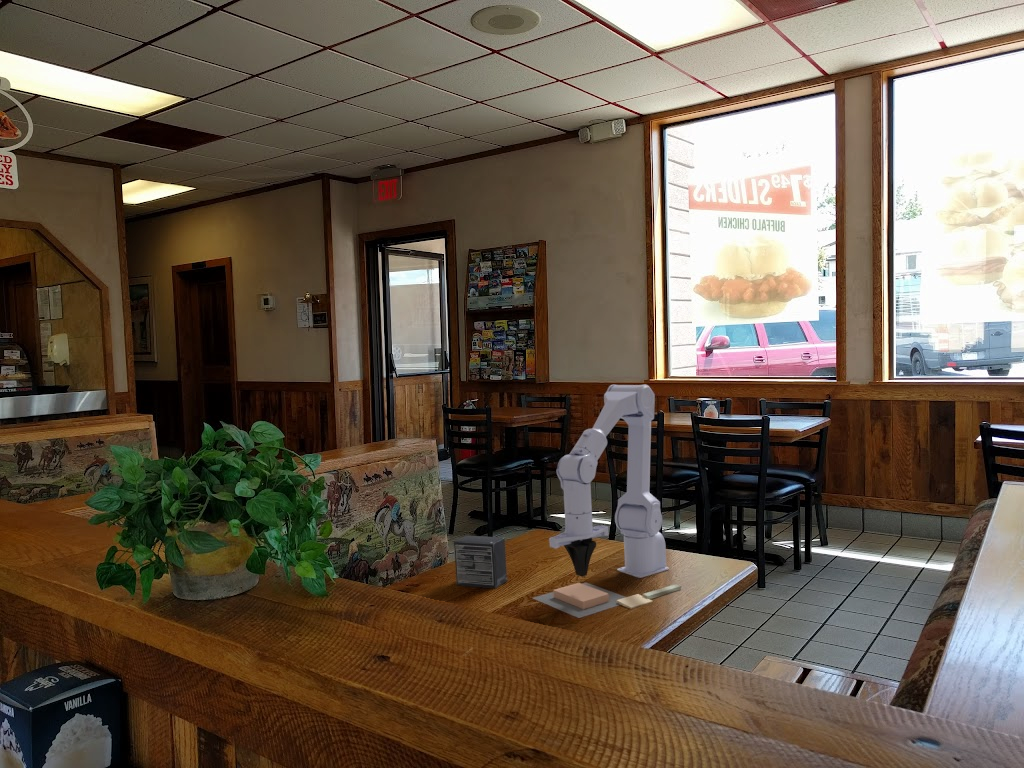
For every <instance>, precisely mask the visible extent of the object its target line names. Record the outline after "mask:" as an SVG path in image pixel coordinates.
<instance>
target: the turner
mask: <svg viewBox="0 0 1024 768" xmlns="http://www.w3.org/2000/svg"><path fill="white" fill-rule="evenodd" d="M680 590H682V585H681V584H678V583H675V584H671V585H669V586H665V587H662V588H659V589H655V590H651V591H649V592H648V591H647V592H645V593H642V595H641V594H639V593H637V594H633V595H630V596H625V597H626V598H622V599H619V600H617V603H619V604H621V605H620V606H623V607H625V608H627V609H630V610H632V609H635V608H639V607H641V606H644V605H648V604H651V603H653V599H655V598H658V597H661V596H665V595H668V594H672V593H674V592H676V591H680Z"/></svg>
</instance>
